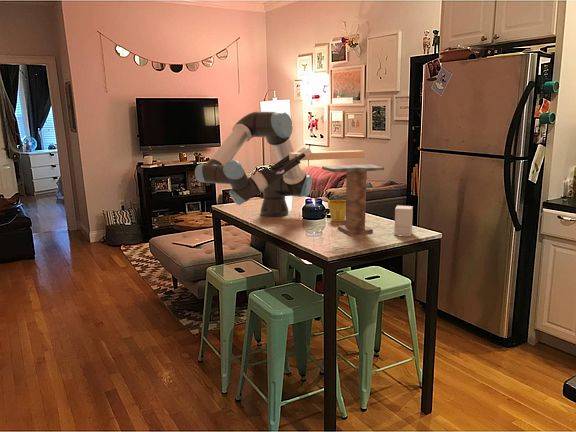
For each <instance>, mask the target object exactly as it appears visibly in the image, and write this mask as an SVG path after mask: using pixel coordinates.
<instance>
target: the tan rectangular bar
mask: <svg viewBox="0 0 576 432" xmlns="http://www.w3.org/2000/svg"><path fill="white" fill-rule="evenodd" d="M365 151H366V150H361V149H360V150H359V149H358V150H357V149H356V150H355V149H354V150H334V151H333V150H332V151H329V150H328V151H326V150H325V151H311V152H312V153H311V154H310V155H308V156H307V157H305V158H304V159H302V160H301V161H317V160H318V161H320V160H338V159H339V160H344V159H345V160H346V159H364V158H365V155H366V153H365ZM299 153H301V152H299ZM299 153H295V152H294V153H289V160H291V159H293V158H295V157H296V155H298V154H299Z"/></svg>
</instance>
